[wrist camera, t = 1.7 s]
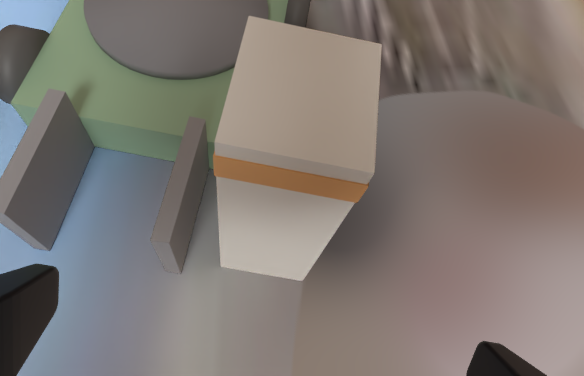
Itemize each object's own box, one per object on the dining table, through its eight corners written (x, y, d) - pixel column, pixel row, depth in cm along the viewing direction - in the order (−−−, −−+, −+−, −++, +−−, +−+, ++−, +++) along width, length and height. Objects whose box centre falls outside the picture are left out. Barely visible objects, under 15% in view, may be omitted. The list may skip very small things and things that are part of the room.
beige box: (303, 282, 23) (376, 175, 12) (219, 267, 22) (212, 143, 11) (313, 198, 25) (383, 43, 14) (238, 184, 25) (247, 14, 14)
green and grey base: (257, 287, 22) (265, 260, 18) (-48, 234, 21) (-121, 191, 17) (307, 11, 32) (319, -50, 28) (100, -34, 31) (79, -105, 27)
